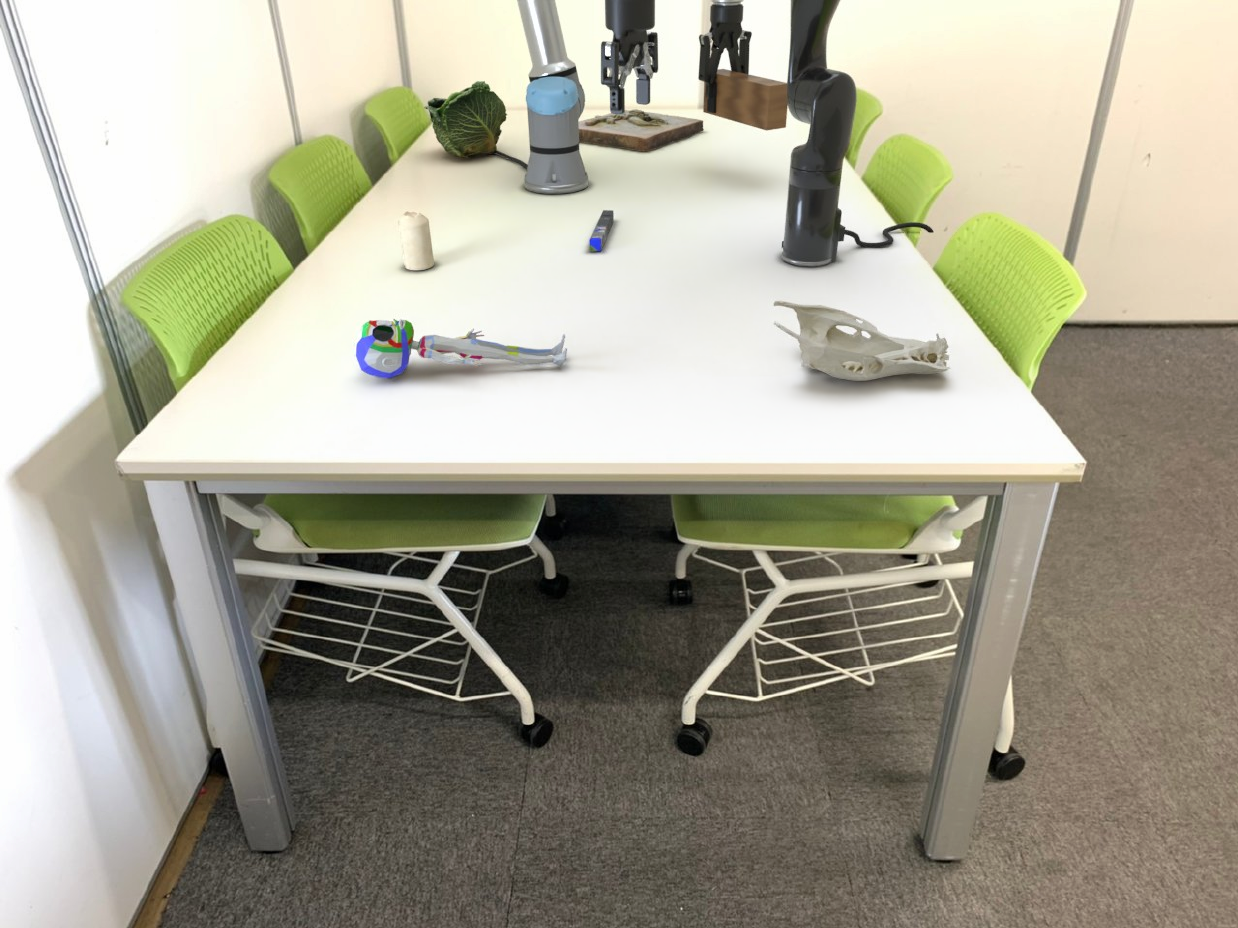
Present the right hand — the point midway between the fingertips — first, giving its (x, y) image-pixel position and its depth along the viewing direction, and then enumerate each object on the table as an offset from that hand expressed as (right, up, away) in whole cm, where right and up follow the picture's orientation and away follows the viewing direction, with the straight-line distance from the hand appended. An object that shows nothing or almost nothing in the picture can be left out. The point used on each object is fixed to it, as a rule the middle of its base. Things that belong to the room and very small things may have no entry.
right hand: (630, 108), depth 142 cm
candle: (-40, -19, +27) cm, 52 cm away
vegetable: (-42, +27, +100) cm, 112 cm away
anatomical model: (+32, -43, -13) cm, 55 cm away
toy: (-25, -42, -10) cm, 50 cm away
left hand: (+23, +29, +75) cm, 83 cm away
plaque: (+2, +38, +117) cm, 123 cm away
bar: (+27, +25, +69) cm, 78 cm away
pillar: (-5, -10, +41) cm, 42 cm away
